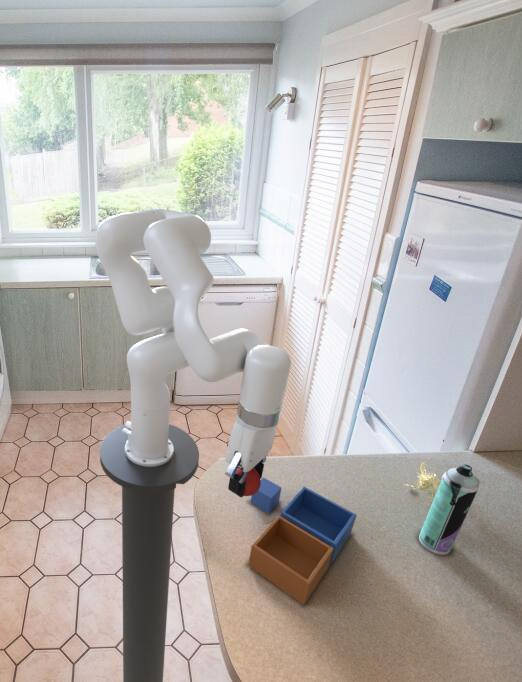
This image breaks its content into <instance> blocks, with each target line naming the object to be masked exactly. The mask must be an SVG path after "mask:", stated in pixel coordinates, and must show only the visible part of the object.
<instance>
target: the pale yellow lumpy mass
mask: <svg viewBox="0 0 522 682" xmlns="http://www.w3.org/2000/svg"><path fill="white" fill-rule="evenodd" d="M438 460H439V459H438V458H437V459H435V460H434V461H435V462H434V465H433V469H435V468H436V463H437V461H438ZM419 464H420V466H419V469H420V472H419V471H418V470H416V471H417V472H415V473H416V474H417V476H416V477H417V478H418V479H417V483H416V484H415V486H413V488H412V489H413V490H415V489H416V490H415V491H414V492H413V494H415V493H416V492H417V490H420V491H427V492H426V494H428V493H431V497H430V498H429V501H430V504H431V505H432V502H433V500H434V498H435V495H436V493H437V490H438V488H439V485H440V483H441V480H442V478H439V476H437V474H435V470H433V471H427V470H429V465H428V463H426V462H425V461H421V462H420V463H419ZM403 486H405V487H407V486H408V487H412V484H411V485H409V484H405V483H404V484H403Z"/></svg>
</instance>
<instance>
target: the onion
mask: <svg viewBox="0 0 522 682" xmlns="http://www.w3.org/2000/svg"><path fill="white" fill-rule="evenodd" d="M242 471H243V470H241V469H239V468H238V469H237V471H236V473H237V474H239V475H240V476H241V474H242ZM245 481H246V486H245V491H244V496H243V497H252V495H253V494H255V493H257V492H258V490H259V488H260V485H261V479H260V475H259V473H258V472H257V471H256V470H255V468H252V469H251V470H250V471H248V472H247V475H246V477H245Z"/></svg>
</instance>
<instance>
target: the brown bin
mask: <svg viewBox="0 0 522 682" xmlns="http://www.w3.org/2000/svg"><path fill="white" fill-rule="evenodd" d="M333 549H334V548H332V547H330V546H329V545H327V544H326V543H324V542H322V541H321V540H319V539H317V538H316V537H314V536H312V535H311V534H309V533H307V532H306V531H304V530H302V529H301V528H299V527H297V526H296V525H294V524H292V523H291V522H289V521H287V520H286V519H284V518H282V517H281V516H280V515H279V514H278V515H277V516H276V517H275V518H274V519H273V521H271V523H270V524H269V525H268V526H267V527H266V528H265V529H264V531H263V532H262V533H261V534H260V535H259V536H258V538H257V539H256V540H255V541H254V542H253V543H252V545H251V547H250V552H249V553H250V555H249V558H248V559H249V560H248V565H247V566H248V567H250V568H251V569H253V570H254V571H255V572H257V573H258V574H260V575H261V576H262V577H264V578H265V579H266V580H268V581H269V582H271V583H272V584H273V585H274V586H276V587H278V588H279V589H281V590H282V591H283V592H284V593H286V594H287V595H289V596H290V597H291V598H293V599H295V600H296V601H297V602H299V603H300V604H302V606H304V605H305V604H306V603H307V601H308V600H309V598H310V597H311V595H312V593H313V592H314V591H315V589H316V587H317V586H318V584H319V583H320V582H321V580H322V578H323V577H324V575H325V574H326V573H327V571H328V570H329V567H330V565H329V563H330V560H331V556H332V553H333Z"/></svg>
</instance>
